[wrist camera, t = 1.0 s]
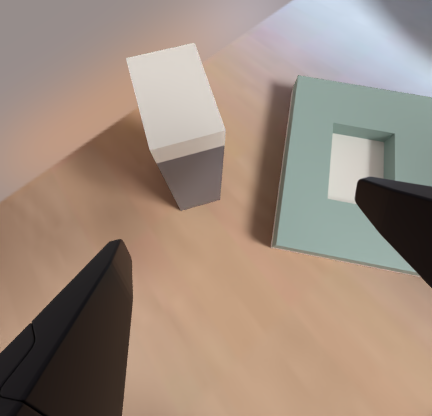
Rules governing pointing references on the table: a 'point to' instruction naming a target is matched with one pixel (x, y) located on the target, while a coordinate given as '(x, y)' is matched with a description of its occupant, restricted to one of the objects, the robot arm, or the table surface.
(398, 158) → the pocket plate
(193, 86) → the block
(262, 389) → the table surface
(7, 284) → the table surface
